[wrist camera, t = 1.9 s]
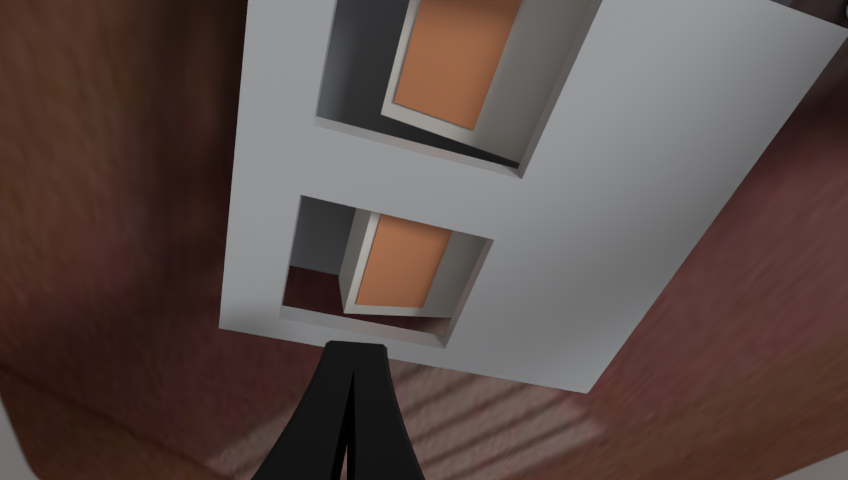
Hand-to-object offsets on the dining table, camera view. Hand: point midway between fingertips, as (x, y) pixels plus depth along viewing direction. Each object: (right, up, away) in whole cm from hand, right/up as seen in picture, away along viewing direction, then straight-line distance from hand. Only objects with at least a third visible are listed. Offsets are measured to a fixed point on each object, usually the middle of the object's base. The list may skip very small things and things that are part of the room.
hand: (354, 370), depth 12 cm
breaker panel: (+4, +8, +7) cm, 11 cm away
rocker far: (+3, +3, +6) cm, 7 cm away
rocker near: (+5, +8, +2) cm, 10 cm away
